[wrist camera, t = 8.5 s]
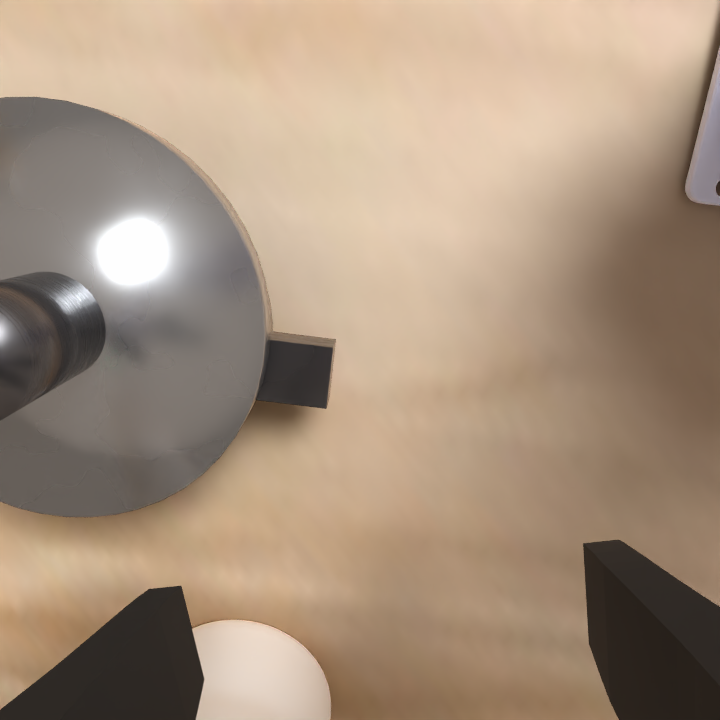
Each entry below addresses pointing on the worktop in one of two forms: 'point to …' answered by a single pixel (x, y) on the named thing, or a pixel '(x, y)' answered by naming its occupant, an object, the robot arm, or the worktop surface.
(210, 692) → the water bottle
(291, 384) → the pot
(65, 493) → the lid
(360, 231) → the worktop surface
